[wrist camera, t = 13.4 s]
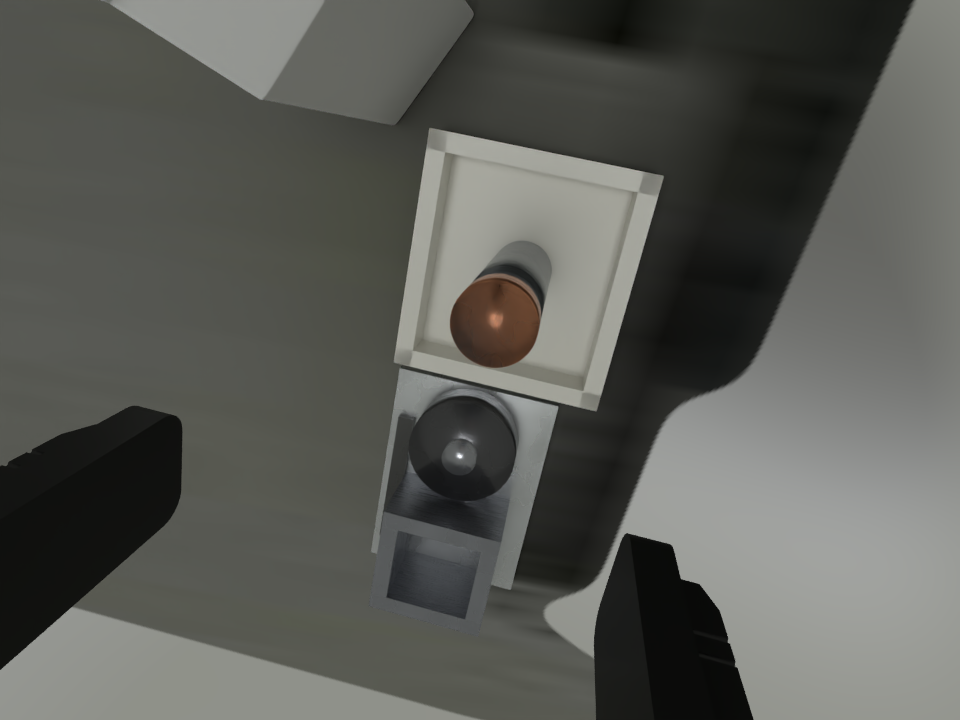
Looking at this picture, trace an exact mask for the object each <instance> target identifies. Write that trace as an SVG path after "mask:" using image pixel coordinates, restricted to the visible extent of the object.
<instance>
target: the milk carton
mask: <svg viewBox="0 0 960 720" xmlns="http://www.w3.org/2000/svg"><path fill="white" fill-rule="evenodd" d="M101 1H104V2H107V3H109V4H111V5H112V6H114V7H116V8H117V9H119V10H120V11H122V12H123V13H125V14H127V15H128V16H130V17H131V18H133V19H134V20H136V21H138V22H139V23H141V24H142V25H144V26H145V27H147V28H149V29H150V30H152V31H153V32H155V33H156V34H158V35H159V36H161V37H163V38H164V39H166V40H167V41H169V42H170V43H172V44H174V45H175V46H177V47H178V48H180V49H181V50H183V51H185V52H186V53H188V54H189V55H191V56H192V57H194V58H196V59H197V60H199V61H200V62H202V63H203V64H205V65H207V66H208V67H210V68H211V69H213V70H214V71H216V72H218V73H219V74H221V75H222V76H224V77H225V78H227V79H228V80H230V81H232V82H233V83H235V84H236V85H238V86H239V87H241V88H243V89H244V90H246V91H247V92H249V93H250V94H252V95H254V96H255V97H257V98H258V99H260V100H267V101H272V102H277V103H282V104H288V105H293V106H298V107H303V108H308V109H313V110H318V111H323V112H328V113H333V114H338V115H343V116H348V117H353V118H358V119H363V120H368V121H373V122H378V123H383V124H388V125H395V124H396V123H397V122H398V121H399V120H400V119H401V117H402V116H403V114H404V113H405V112H406V110H407V109H408V108H409V106H410V105H411V103H412V102H413V101H414V99H415V98H416V96H417V95H418V94H419V92H420V91H421V89H422V88H423V87H424V85H425V84H426V83H427V81H428V80H429V78H430V77H431V76H432V74H433V73H434V71H435V70H436V69H437V67H438V66H439V64H440V63H441V62H442V60H443V59H444V57H445V56H446V55H447V53H448V52H449V51H450V49H451V48H452V46H453V45H454V44H455V42H456V41H457V39H458V38H459V37H460V35H461V34H462V32H463V31H464V30H465V28H466V27H467V25H468V24H469V22H470V21H471V19H472V18H473V16H474V13H473V11H472V9H471V8H470V7H469V5H468V4H467V2H466V1H465V0H101Z"/></svg>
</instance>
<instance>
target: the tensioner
mask: <svg viewBox="0 0 960 720" xmlns="http://www.w3.org/2000/svg"><path fill="white" fill-rule="evenodd" d="M558 407H559V402H555V401H551V400H547V399H542V398H538V397H534V396H530V395H526V394H522V393H518V392H513V391H509V390H505V389H501V388H497V387H493V386H489V385H484V384H480V383H476V382H472V381H468V380H464V379H460V378H455V377H451V376H447V375H443V374H439V373H435V372H431V371H426V370H422V369H418V368H414V367H410V366H406V365H402V366H401V368H400V371H399V377H398V383H397V390H396V396H395V403H394V409H393V415H392V422H391V428H390V434H389V441H388V447H387V453H386V460H385V466H384V473H383V479H382V485H381V492H380V498H379V504H378V511H377V517H376V524H375V530H374V536H373V543H372V549H371V552H372V553H376V554H377V557H376V564H375V570H374V576H373V582H372V588H371V595H370V601H369V606H370V607H374V608H377V609H381V610H384V611H388V612H392V613H395V614H399V615H402V616H406V617H409V618H413V619H417V620H420V621H424V622H427V623H431V624H435V625H438V626H442V627H445V628H449V629H452V630H456V631H460V632H463V633H467V634H470V635H474V636H478V635H479V631H480V627H481V623H482V619H483V615H484V611H485V607H486V602H487V598H488V594H489V590H490V586H491V585H494V586H498V587H502V588H505V589H509V590H511V586H512V582H513V579H514V575H515V571H516V567H517V563H518V560H519V556H520V552H521V548H522V544H523V540H524V537H525V533H526V529H527V525H528V521H529V518H530V514H531V510H532V506H533V502H534V499H535V495H536V491H537V487H538V483H539V479H540V476H541V472H542V468H543V464H544V460H545V457H546V453H547V449H548V445H549V441H550V438H551V434H552V430H553V426H554V422H555V418H556V415H557V411H558Z"/></svg>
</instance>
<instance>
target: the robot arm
mask: <svg viewBox="0 0 960 720" xmlns="http://www.w3.org/2000/svg"><path fill="white" fill-rule="evenodd" d="M181 473H182V424H181V421H180V419H179V418H178V417H177V416H174V415H171V414H167V413H163V412H159V411H155V410H151V409H147V408H143V407H140V406H130V407H128V408H126V409H124V410H122V411H120V412H119V413H117V414H115V415H113V416H111V417H109V418H108V419H106V420H104V421H102V422H100V423H98V424H97V425H96V424H95V425H92V426H88V427H85V428H81V429H78V430H74V431H71V432H67V433H64V434H61V435H59V436H57V437H55V438H53V439H51V440H49V441H47V442H45V443H43V444H42V445H40V446H38V447H36V448H34V449H32V452H31V453H27V452H26V453H25V454H23V455H21V456H19V457H17V458H15V459H13V460H11V461H9V462H8V465H7V466H3V465H2V466H0V670H1V669H2V668H3V667H4V666H5V665H6V664H7V663H9V662H10V661H11V660H12V659H13V658H14V657H15V656H17V655H18V654H19V653H20V652H21V651H22V650H23V649H25V648H26V647H27V646H28V645H29V644H30V643H31V642H33V641H34V640H35V639H36V638H37V637H38V636H39V635H40V634H42V633H43V632H44V631H45V630H46V629H47V628H48V627H50V625H52V624H53V623H54V622H55V621H56V620H57V619H59V618H60V617H61V616H62V615H63V614H64V613H65V612H67V611H68V610H69V609H70V608H71V607H72V606H73V605H75V604H76V603H77V602H78V601H79V600H80V599H81V598H82V597H84V596H85V595H86V594H87V593H88V592H89V591H90V590H92V589H93V588H94V587H95V586H96V585H97V584H98V583H100V582H101V581H102V580H103V579H104V578H105V577H106V576H107V575H109V574H110V573H111V572H112V571H113V570H114V569H115V568H117V567H118V566H119V565H120V564H121V563H122V562H123V561H125V560H126V559H127V558H128V557H129V556H130V555H131V554H132V553H134V552H135V551H136V550H137V549H138V548H139V547H140V546H142V545H143V544H144V543H145V542H146V541H147V540H148V539H150V538H151V537H152V536H153V535H154V534H155V533H156V532H157V531H159V530H160V529H161V528H162V527H163V526H164V525H165V524H166V523H167V522H168V521H169V520H170V518H171V517H172V515H173V513H174V512H175V509H176V507H177V505H178V502H179V499H180V495H181ZM594 661H595V694H596V720H753V716H752V713H751V710H750V707H749V704H748V701H747V697H746V694H745V691H744V688H743V684H742V681H741V678H740V675H739V671H738V668H737V667H735V659H734V655H733V652H732V649H731V646H730V644H729V643H728V636H727V633H726V630H725V626H724V623H723V620H722V617H721V614H720V611H719V609H718V608H717V607H716V605H715V604H714V603H713V602H712V600H711V599H710V597H709V596H708V595H707V594H706V592H705V591H704V590H703V588H702V587H701V586H700V584H697V583H693V582H689V581H685V580H682V579H681V578H680V574H679V570H678V566H677V562H676V557H675V553H674V549H673V547H672V546H671V545H670V544H667V543H662V542H659V541H655V540H651V539H647V538H643V537H639V536H636V535H631V534H628V533H627V534H625V535H624V537H623V538H622V541H621V543H620V546H619V549H618V552H617V555H616V558H615V561H614V564H613V567H612V570H611V573H610V576H609V579H608V582H607V585H606V588H605V591H604V595H603V597H602V601H601V603H600V607H599V611H598V615H597V620H596V626H595V635H594Z"/></svg>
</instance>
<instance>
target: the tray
mask: <svg viewBox="0 0 960 720" xmlns="http://www.w3.org/2000/svg"><path fill="white" fill-rule="evenodd" d="M663 178H664V176H662V175H657V174H652V173H647V172H642V171H638V170H633V169H628V168H623V167H618V166H613V165H608V164H603V163H599V162H594V161H589V160H584V159H579V158H574V157H569V156H565V155H560V154H555V153H550V152H545V151H540V150H535V149H530V148H526V147H521V146H516V145H511V144H506V143H501V142H496V141H492V140H487V139H482V138H477V137H472V136H467V135H462V134H457V133H453V132H448V131H443V130H438V129H433V128H429V134H428V141H427V147H426V154H425V160H424V167H423V173H422V180H421V187H420V193H419V200H418V206H417V213H416V219H415V226H414V232H413V239H412V245H411V252H410V259H409V265H408V272H407V278H406V285H405V291H404V298H403V304H402V311H401V318H400V324H399V331H398V337H397V344H396V350H395V357H394V363H398V364H402V365H406V366H410V367H414V368H418V369H422V370H426V371H431V372H435V373H439V374H443V375H447V376H451V377H455V378H460V379H464V380H468V381H472V382H476V383H480V384H484V385H489V386H493V387H497V388H501V389H505V390H509V391H513V392H518V393H522V394H526V395H530V396H534V397H538V398H542V399H547V400H551V401H555V402H559V403H563V404H567V405H571V406H575V407H580V408H584V409H588V410H592V411H597V407H598V404H599V401H600V397H601V394H602V390H603V387H604V383H605V380H606V376H607V373H608V369H609V366H610V362H611V359H612V355H613V352H614V348H615V345H616V341H617V338H618V334H619V331H620V327H621V324H622V320H623V317H624V314H625V310H626V307H627V303H628V300H629V296H630V293H631V289H632V286H633V282H634V279H635V275H636V272H637V268H638V265H639V261H640V258H641V254H642V251H643V247H644V244H645V240H646V237H647V233H648V230H649V227H650V223H651V220H652V216H653V213H654V209H655V206H656V202H657V199H658V195H659V192H660V188H661V185H662V181H663ZM515 241H529V242H532V243H535V244H537V245H538V246H540V247H541V248H542V249H543V250H544V251H545V252H546V254H547V255H548V257H549V259H550V262H551V267H552V274H551V279H550V283H549V287H548V292H547V296H546V300H545V304H544V308H543V313H542V317H541V323H540V328H539V332H538V336H537V339H536V342H535V344H534V346H533V348H532V349H531V351H530V352H529V353H528V354H527V355H526V356H525V357H524V358H523V359H522V360H520V361H519V362H517V363H515V364H513V365H510V366H507V367H502V368H490V367H485V366H481V365H479V364H476V363H474V362H472V361H471V360H469V359H468V358H467V357H465V356H464V355H463V354H462V353H461V352H460V350H459V349H458V348H457V346H456V344H455V343H454V340H453V338H452V335H451V331H450V315H451V311H452V308H453V306H454V304H455V302H456V300H457V299H458V298H459V296H460V295H461V294H462V293H463V292H464V290H465V289H466V288H467V287H468V286H469V285H470V284H471V283H472V282H473V281H474V280H475V279H476V277H477V276H478V275H479V274H480V273H481V272H482V270H483V269H484V268H485V267H486V266H487V265H488V264H489V262H490V261H491V260H492V259H493V258H494V257H495V255H496V254H497V253H498V252H499V251H500V250H501V249H502V248H503V247H504V246H506V245H507V244H509V243H512V242H515Z"/></svg>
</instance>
